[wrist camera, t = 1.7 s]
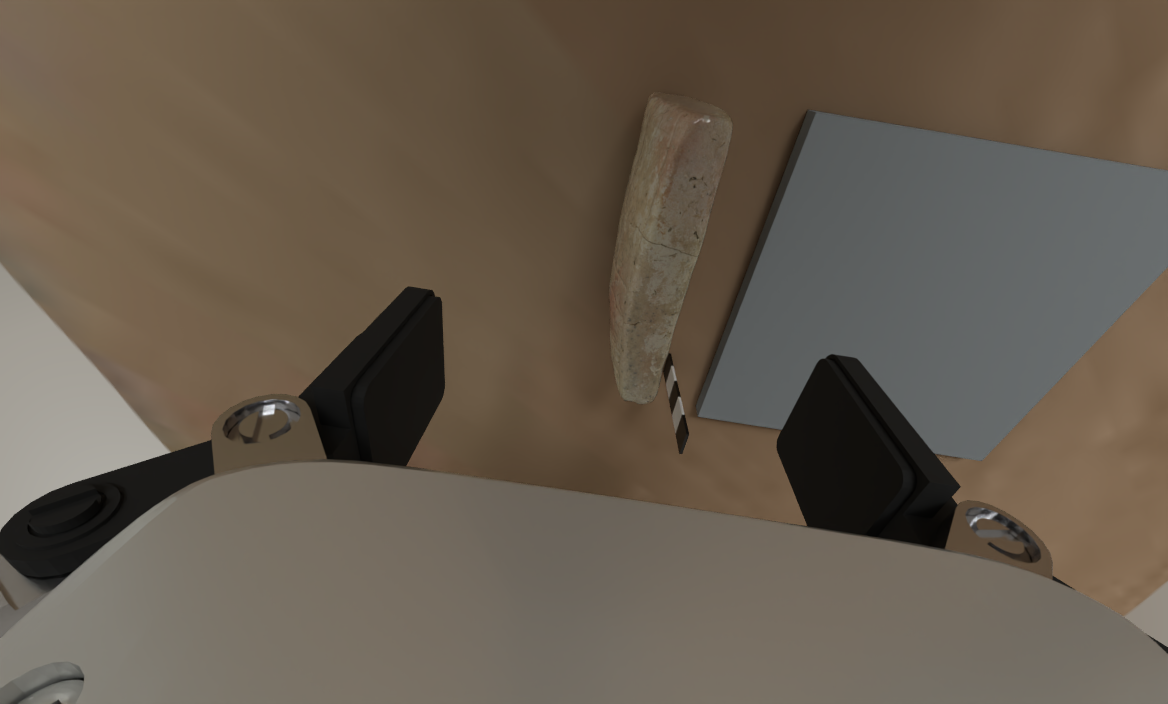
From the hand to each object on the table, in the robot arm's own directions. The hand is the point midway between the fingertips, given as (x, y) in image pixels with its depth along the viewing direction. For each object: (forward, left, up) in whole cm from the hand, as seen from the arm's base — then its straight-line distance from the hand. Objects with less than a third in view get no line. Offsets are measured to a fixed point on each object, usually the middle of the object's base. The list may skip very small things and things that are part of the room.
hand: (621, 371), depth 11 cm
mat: (+1, +13, -9) cm, 16 cm away
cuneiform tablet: (0, +2, -10) cm, 10 cm away
